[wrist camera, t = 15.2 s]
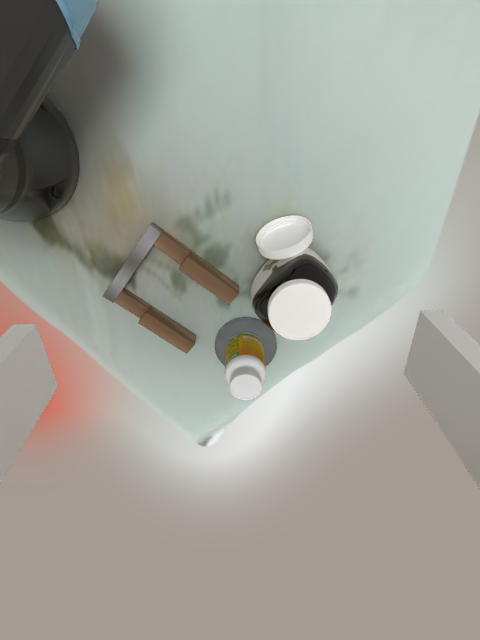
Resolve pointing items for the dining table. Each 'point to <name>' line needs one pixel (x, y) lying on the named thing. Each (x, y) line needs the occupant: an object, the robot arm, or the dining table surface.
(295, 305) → the spread jar
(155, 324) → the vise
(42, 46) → the robot arm
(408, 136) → the dining table surface
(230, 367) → the supplement bottle
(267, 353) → the pad
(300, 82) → the dining table surface
